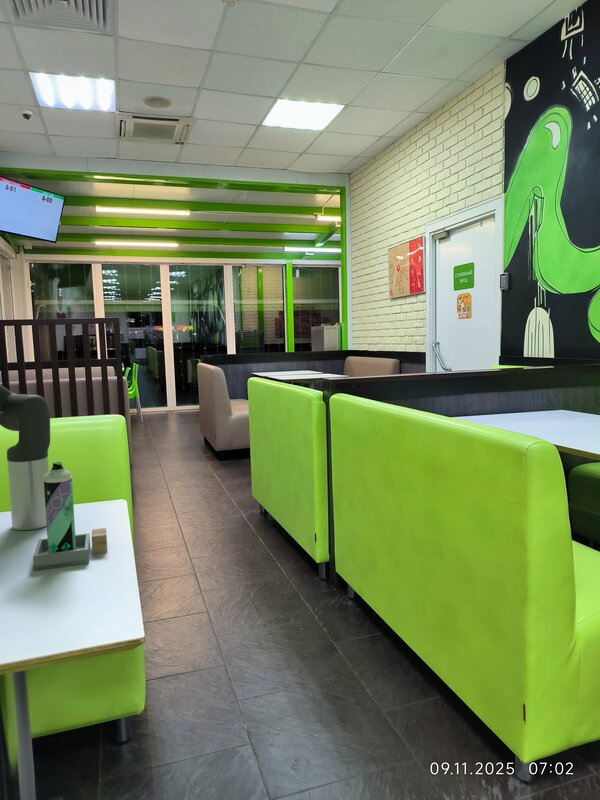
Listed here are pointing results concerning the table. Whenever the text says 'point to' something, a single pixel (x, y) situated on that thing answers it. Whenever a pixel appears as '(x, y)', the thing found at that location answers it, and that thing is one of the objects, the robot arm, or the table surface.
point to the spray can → (59, 509)
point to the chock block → (99, 540)
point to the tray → (62, 554)
